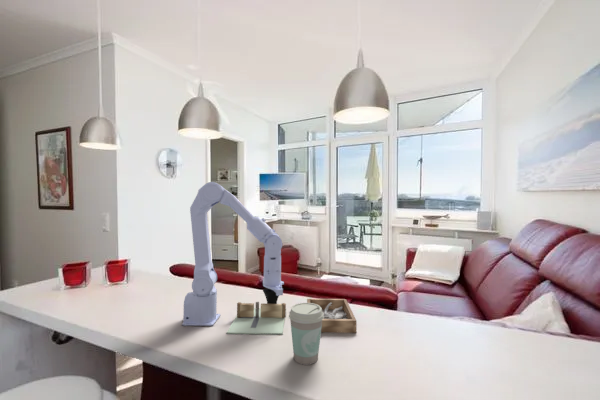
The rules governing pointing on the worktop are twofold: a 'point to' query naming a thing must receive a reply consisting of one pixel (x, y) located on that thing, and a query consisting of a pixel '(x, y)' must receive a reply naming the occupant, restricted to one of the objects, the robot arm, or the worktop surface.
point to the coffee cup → (306, 331)
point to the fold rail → (273, 310)
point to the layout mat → (257, 325)
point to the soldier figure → (333, 313)
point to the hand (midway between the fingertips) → (271, 310)
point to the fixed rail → (247, 310)
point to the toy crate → (336, 324)
